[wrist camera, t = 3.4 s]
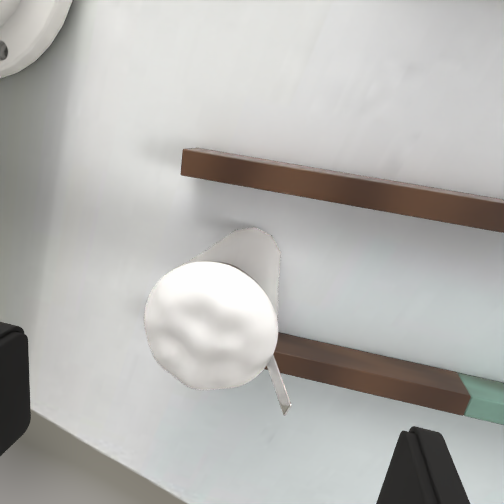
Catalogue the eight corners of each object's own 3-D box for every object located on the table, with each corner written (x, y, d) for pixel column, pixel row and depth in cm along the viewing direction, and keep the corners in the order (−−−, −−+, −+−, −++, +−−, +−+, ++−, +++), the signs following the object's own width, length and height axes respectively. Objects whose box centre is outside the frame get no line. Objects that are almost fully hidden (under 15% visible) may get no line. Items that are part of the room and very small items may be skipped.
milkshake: (283, 316, 21) (253, 465, 11) (197, 272, 21) (96, 383, 11) (323, 245, 19) (327, 350, 10) (230, 199, 19) (144, 257, 10)
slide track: (178, 328, 22) (165, 346, 20) (196, 147, 19) (182, 148, 17) (631, 431, 19) (665, 463, 17) (745, 240, 16) (802, 253, 14)
